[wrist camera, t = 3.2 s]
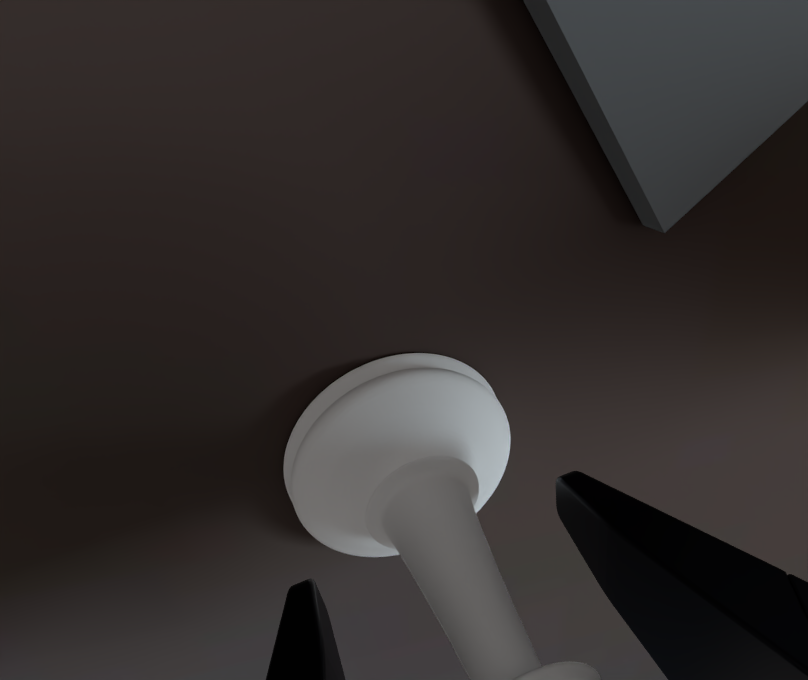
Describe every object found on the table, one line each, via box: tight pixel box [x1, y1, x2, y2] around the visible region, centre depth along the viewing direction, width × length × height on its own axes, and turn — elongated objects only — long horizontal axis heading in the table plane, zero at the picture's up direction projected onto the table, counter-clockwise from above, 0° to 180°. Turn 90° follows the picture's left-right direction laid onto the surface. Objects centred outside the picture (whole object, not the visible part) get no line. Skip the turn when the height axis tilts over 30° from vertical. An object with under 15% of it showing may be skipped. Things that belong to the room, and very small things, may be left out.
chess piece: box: [283, 353, 601, 680], centre depth 7 cm, size 5×5×10 cm
